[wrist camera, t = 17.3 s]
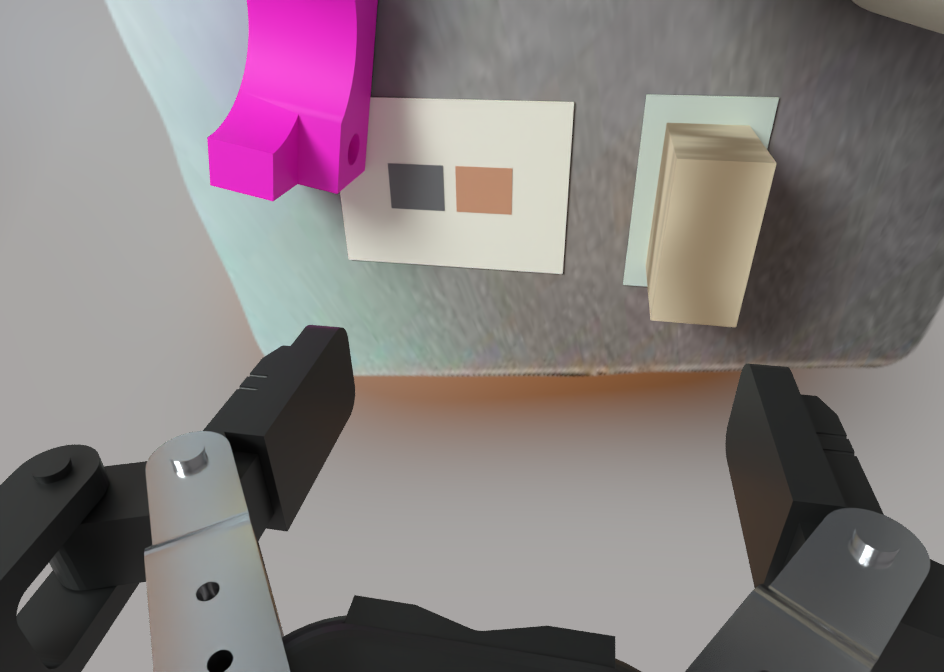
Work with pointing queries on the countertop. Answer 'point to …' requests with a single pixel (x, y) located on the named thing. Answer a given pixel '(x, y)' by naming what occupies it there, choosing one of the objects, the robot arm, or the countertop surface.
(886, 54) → the countertop surface
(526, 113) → the tile
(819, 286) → the countertop surface
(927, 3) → the travel mug
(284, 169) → the toy block
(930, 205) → the countertop surface
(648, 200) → the pad
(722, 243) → the maple block
